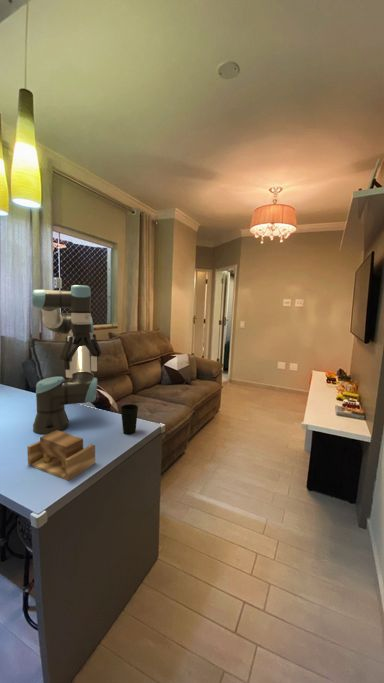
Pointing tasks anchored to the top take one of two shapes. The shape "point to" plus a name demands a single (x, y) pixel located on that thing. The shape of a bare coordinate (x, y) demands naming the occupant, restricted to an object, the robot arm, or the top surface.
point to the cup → (129, 418)
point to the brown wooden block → (60, 445)
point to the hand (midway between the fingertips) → (82, 374)
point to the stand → (59, 467)
